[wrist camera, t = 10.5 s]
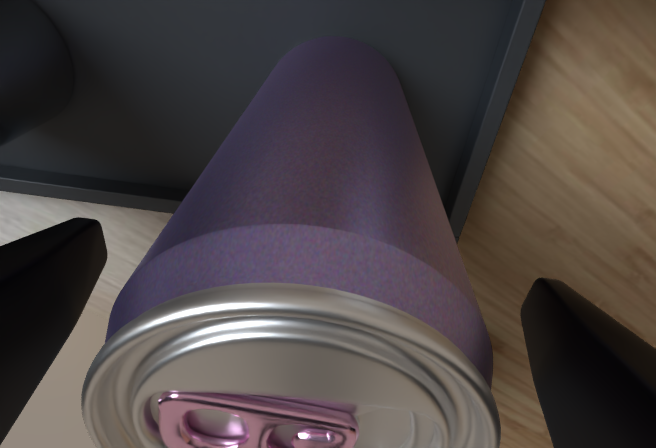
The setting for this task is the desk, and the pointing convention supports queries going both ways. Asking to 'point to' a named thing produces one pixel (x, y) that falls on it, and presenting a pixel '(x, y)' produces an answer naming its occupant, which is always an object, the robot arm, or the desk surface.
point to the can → (31, 69)
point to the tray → (256, 88)
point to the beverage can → (302, 286)
